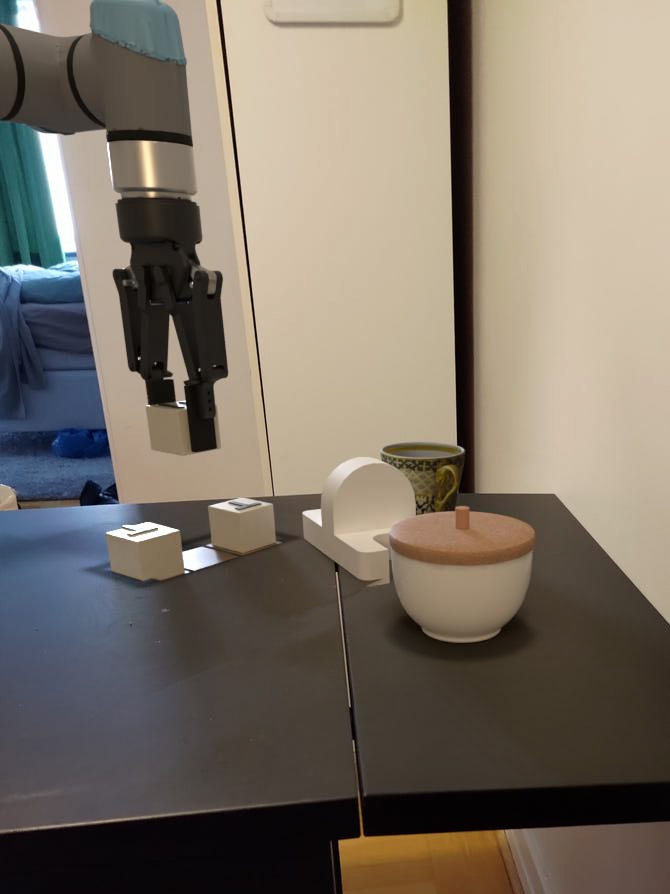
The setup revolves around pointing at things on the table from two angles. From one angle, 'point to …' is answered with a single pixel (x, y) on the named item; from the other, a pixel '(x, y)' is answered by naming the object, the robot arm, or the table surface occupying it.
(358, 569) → the u-slot stand
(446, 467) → the ceramic cup
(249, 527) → the tile
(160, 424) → the tile middle
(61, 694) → the table surface
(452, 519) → the lidded bowl
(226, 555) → the word board
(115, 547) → the tile
